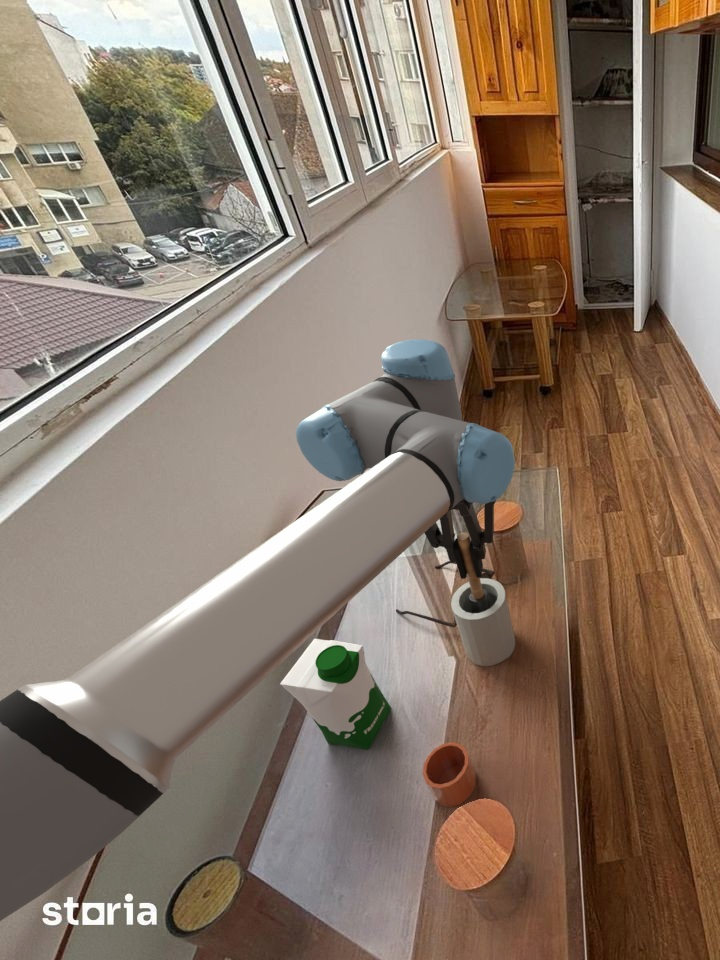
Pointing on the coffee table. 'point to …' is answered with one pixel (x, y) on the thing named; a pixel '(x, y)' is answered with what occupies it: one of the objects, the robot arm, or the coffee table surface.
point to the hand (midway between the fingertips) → (472, 571)
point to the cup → (484, 624)
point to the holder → (449, 774)
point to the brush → (473, 576)
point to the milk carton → (339, 693)
